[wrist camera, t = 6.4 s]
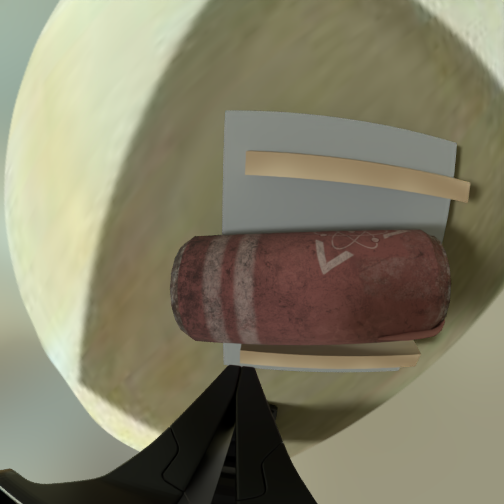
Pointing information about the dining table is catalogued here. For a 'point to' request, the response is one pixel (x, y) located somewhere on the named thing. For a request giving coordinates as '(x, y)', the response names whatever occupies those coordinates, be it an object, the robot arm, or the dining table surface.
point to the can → (311, 287)
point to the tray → (332, 205)
